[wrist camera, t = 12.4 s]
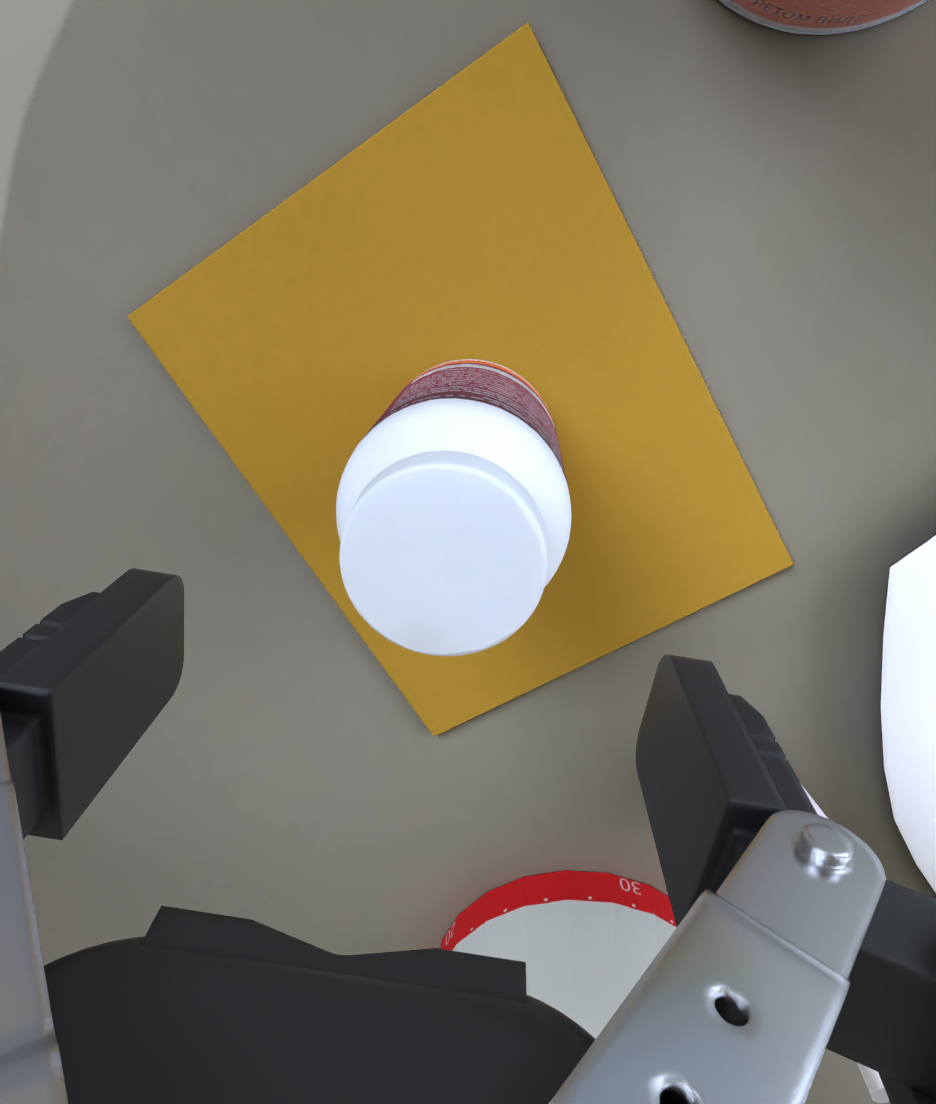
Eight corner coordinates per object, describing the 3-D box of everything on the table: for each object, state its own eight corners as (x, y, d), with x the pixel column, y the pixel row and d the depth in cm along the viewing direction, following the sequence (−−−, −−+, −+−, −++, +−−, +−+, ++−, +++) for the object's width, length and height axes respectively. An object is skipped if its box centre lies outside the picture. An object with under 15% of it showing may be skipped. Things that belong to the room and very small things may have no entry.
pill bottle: (364, 378, 26) (264, 458, 15) (537, 337, 25) (553, 394, 15) (410, 540, 28) (349, 704, 18) (570, 508, 27) (604, 661, 17)
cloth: (130, 315, 26) (126, 316, 25) (528, 24, 22) (528, 21, 21) (434, 732, 31) (433, 737, 31) (791, 561, 28) (793, 564, 27)
